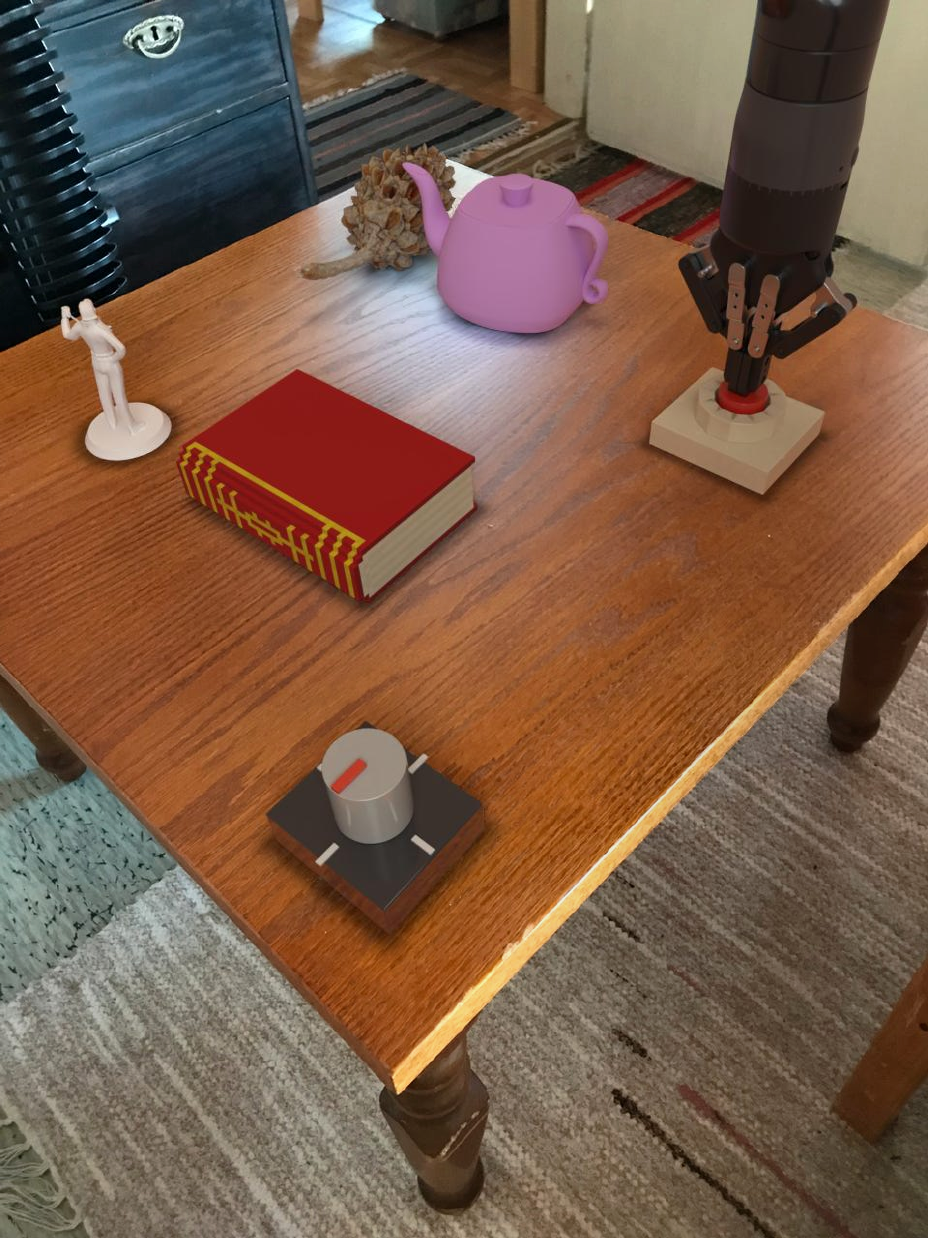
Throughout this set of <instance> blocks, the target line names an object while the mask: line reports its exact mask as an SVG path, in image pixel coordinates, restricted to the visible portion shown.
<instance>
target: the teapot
mask: <svg viewBox="0 0 928 1238" xmlns="http://www.w3.org/2000/svg"><path fill="white" fill-rule="evenodd" d="M402 165H403V168H404V169H405V170H406V171H407V172H408V173H409V175H410V176H411V177H412V178H413V180H414V181H415V183H416V185H417V187H418V189H419V192H420V195H421V201H422V210H423V223H424V231H425V235H426V239H427V241H428V244H429V246H430V248H429V249H430V250H431V251H432V253H433V254H434V256H435V257H436V258H437V259H438V260H437V261H438V263H437V271H436V286H437V290H438V294H439V296H440V297H441V299H442V301H443V302H444V303H445V304H446V306H447V307H448V308H449V309H450V310H451V311H452V312H453V313H454V314H455V315H457V316H459V317H460V318H462V319H464V320H466V321H468V322H470V323H472V324H475V325H476V326H477V325H478V326H480V327H483V328H487V329H490V330H495V331H500V332H506V333H517V334H518V333H520V334H536V333H538V334H539V333H545V332H549V331H552V330H554V329H556V328H558V327H560V326H561V325H562V324H564V323H565V322H566V321H567V320H568V319H570V317H571V316H572V315H573V314H574V313H575V312H576V311H577V309H578V308H579V307H580V306H581V305H582V303H583V302H585V303H587V304H589V305H596V304H597V305H598V304H600V303H603V302H604V301H605V300H606V299H607V298H608V295H609V292H610V291H609V290H610V287H609V284H608V283H607V281H606V280H605V279H604V278H602V277H597V275H598V273H599V271H600V270H601V267H602V265H603V263H604V260H605V258H606V255H607V253H608V250H609V249H608V248H609V234H608V231H607V229H606V227H605V226H604V224H602V222H600V220H599V219H597V218H596V217H594V216H593V215H590V214H587V213H584V211H583V209H582V207H581V205H580V203H579V201H578V199H577V197H576V196H575V194H574V192H572V191H571V190H570V189H569V188H567V187H565V186H563V185H560V184H557V183H555V182H551V181H548V180H545V179H540V178H535V177H532V176H529V175H528V174H523V173H511V174H507V175H500V176H499V175H497V176H493V177H487V178H485V179H484V180H482V181H480V182H479V183H477V184H476V185H474V187H473V188H472V189H470V190H469V191H468V192H467V193H466V194H465V195H464V196H463V197H462V199H461V200H460V201H459V203H458V205H457V207H456V209H455V211H454V213H453V215H452V217H451V216H450V215H449V214H448V212H446V210H445V208H444V205H443V202H442V199H441V196H440V193H439V190H438V187H437V185H436V183H435V181H434V179H433V178H432V176H431V175H430V174H429V173H428V172H427V171H426V170H425V169H423V168H421V167H420V166H417V165H415V164H412V163H403V164H402ZM594 287H595V288H596V289H597V290H595V289H594Z"/></svg>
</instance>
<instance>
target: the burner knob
mask: <svg viewBox="0 0 928 1238" xmlns="http://www.w3.org/2000/svg"><path fill="white" fill-rule="evenodd" d="M403 747H404V745H403V744H402V743H401V741H400V740H398V739H397V738H396V736H394V735H392V734H391V733H389V732H387V731H384V730H381V729H378V728H377V729H370V728H366V729H358V730H356V729H354V730H351V731H348V732H346V733H344V734H342V735H341V736H339V737H338V738H337V739H335V740H334V741H333V742H332V743H331V744H330V745H329V746H328V748H327V749H326V751H325V753H324V756H323V757H322V760H321V762H322V776H323V780H324V783H325V787H326V790H327V794H328V797H329V801H330V804H331V808H332V811H333V815H334V818H335V821H336V824H337V826H338V827H339V829H340V830H341V831H342V833H343V834H345V835H346V836H347V837H349V838H350V839H352V840H354V841H357V842H360V843H366V844H376V843H381V842H385V841H387V840H390V839H392V838H394V837H395V836H397V835H398V834H400V833H401V832H402V831H403V830H404V829H405V827H406V826H407V825H408V823H409V822H410V820H411V818H412V815H413V810H414V800H413V794H412V788H411V781H410V775H409V769H408V763H407V756H406V752H405V750H404V748H405V747H404V748H403Z"/></svg>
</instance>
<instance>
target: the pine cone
mask: <svg viewBox="0 0 928 1238" xmlns="http://www.w3.org/2000/svg"><path fill="white" fill-rule="evenodd" d="M439 151H440V148H436V146H434V145H431V146H430V147H429V148H428V147H427V144H426V142H425V141H424V142H423V143H422V146H419V147H417V149H415V150H413V152H412V151H411V147H410V145H409V143H408V144H406V147H405V150H403V151H402V149H401V147H398V148H397V149H396V150H394V151H393V150H392V149H390V148H386V149H383V151H382V154H381V155H382V157H381V158H379V157H377V156H374V155H372V156H371V158H370V160H369V162H368V163H362V164H361V180H359V181H357V182H355V183H354V190H355V192H356V195H350V200H351V203H352V204H351V205H348V206H345V207H343V215H342V217H341V219H340V222H341V224H342V225H343V227H345V228H346V230H347V232H348V233H349V236H347V237H346V241H347V242H348V244H350V245H352V246H354V249H353V251H356V252H354V253H352V254H350V255H348V256H346V257H342V258H340V259H337V260H333V261H328V262H324V263H323V262H311V263H310V264H308V263H304V262H303V263H301V264H300V265H298V266H297V267H296V268H295V269H293V272H295V271H299V270H300V271H299V273H298V275H297V277H298V278H301V279H305V280H309V281H318V280H326V279H328V278H334V277H337V276H339V275H342V274H343V273H344V274H345V273H347V272H350V271H353V270H354V269H357V268H359V267H361V266H364V265H365V264H367V263H371V265H372V266H373V268H375V270H377V269H379V270H381V271H383V272H384V271H385V270H387V267H388V266H391V267H393V268H395V269H396V270H398V271H401V272H402V271H403V270H404V268H409V267H411V266H412V264H413V258H412V256H420V255H426V254H427V253H428V250H429V249H431V248H430V246H429V244H428V241H427V239H426V235H425V231H424V223H423V210H422V201H421V195H420V192H419V189H418V187H417V185H416V183H415V181H414V180H413V178H412V177H411V176H410V175H409V173H408V172H407V171H406V170H405V169H404V168H403V165H402V164H403V163H412V164H415V165H417V166H420V167H421V168H423V169H425V170H426V171H427V172H428V173H429V174H430V175H431V176H432V178H433V179H434V181H435V183H436V185H437V187H438V190H439V193H440V196H441V199H442V202H443V205H444V208H445V210H446V212H447V213H449V212H450V210H451V209H453V205H454V203H455V201H456V199H457V197H455V196H453V194H452V192H451V189H453V188H455V186H456V183H457V180H456V179H455V178H454V175H456V169H455V167H454V166H453V165H448V166H447V161H446V160H447V157H446V155H445V154H441V155H440V153H439Z"/></svg>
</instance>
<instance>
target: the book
mask: <svg viewBox="0 0 928 1238" xmlns="http://www.w3.org/2000/svg"><path fill="white" fill-rule="evenodd" d="M181 447H182V451H180V452H179V453H178V456H179V459H177V460H176V461H175V464H176V466H177V470H178V473H179V476H180V479H181V481H182V484H183V487H184V490H185V493H186V495H187V496H189V497H190V498H193V499H194V500H195V501H197V502H199V503H200V504H202V505H203V506H205V507H207V508H209V510H212V511H213V512H215V513H216V514H218V515H220V516H222V517H223V518H224V519H226V520H227V521H229V522H231V523H233V524H234V525H235V526H237V527H239V528H240V529H242V530H243V531H245V532H246V533H248V534H250V535H252V536H253V537H255V538H256V539H258V540H260V541H261V542H263V543H265V544H266V545H268V546H270V547H271V548H273V549H275V550H276V551H278V552H279V553H281V554H282V555H284V556H286V557H287V558H289V559H291V560H292V561H294V562H295V563H297V564H298V565H301V566H302V567H304V568H305V569H306V570H308V571H310V572H311V573H314V574H315V575H316V576H317V577H320V578H321V579H323V580H324V581H326V582H327V583H330V584H331V585H332V586H334V587H335V588H337V589H339V590H340V591H342V592H344V593H346V594H347V595H348V596H350V597H351V598H354V599H355V600H356V601H358V602H361V601H363V602H364V603H365V602H369V603H371V602H372V601H373V600H375V599H376V598H377V597H378V596H379V595H381V594H382V593H383V592H384V591H385V590H386V589H387V588H389V587H390V586H391V585H392V584H393V583H395V581H397V580H398V579H399V578H400V577H401V576H402V575H404V573H406V572H407V571H409V569H411V567H413V566H414V565H415V564H416V563H417V562H418V561H420V560H421V559H422V558H423V557H424V556H425V555H426V554H427V553H429V552H430V551H432V549H434V548H435V547H436V546H437V545H438V544H439V543H440V542H442V540H443V539H445V538H446V537H447V536H448V535H450V534H451V533H452V532H453V531H454V530H455V529H456V528H457V527H459V526H460V525H461V524H462V523H463V522H464V521H465V520H466V519H467V518H469V517H470V516H471V515H472V514H473V513H475V512H476V511H477V510H478V503H476V502H474V491H473V467H472V465H474V464H475V463H476V456H475V455H472V454H470V453H469V452H466V451H464V450H462V449H460V448H458V447H456V446H455V445H452V444H450V443H449V442H446V441H444V440H443V439H440V438H438V437H436V436H435V435H432V434H430V433H429V432H426V431H424V430H422V429H420V428H419V427H416V426H414V425H412V424H410V423H408V422H406V421H404V420H402V419H399V418H398V417H397V416H394V415H392V414H390V413H388V412H385V411H383V410H382V409H380V408H378V407H376V406H373V405H372V404H370V403H367V402H366V401H363V400H362V399H360V398H357V397H355V396H353V395H351V394H349V393H347V392H345V391H343V390H341V389H339V388H337V387H335V386H333V385H331V384H329V383H328V382H325V381H323V380H321V379H319V378H317V377H315V376H313V375H311V374H309V373H307V372H305V371H303V370H301V369H299V368H296V369H295V370H293V371H291V372H290V373H288V374H287V375H286V376H284V377H283V378H280V379H279V380H278V381H276V382H275V383H274V384H272V385H270V386H269V387H267V388H266V389H264V390H263V391H261V392H260V393H259V394H257V395H255V396H253V397H252V398H251V399H249V400H248V401H246V402H245V403H243V404H242V405H240V406H239V407H238V408H236V409H234V410H233V411H231V412H230V413H228V414H227V415H226V416H224V417H222V418H220V420H218V421H217V422H215V423H214V424H212V425H210V426H209V427H207V428H206V429H205V430H202V431H201V432H200V433H199V434H197V435H195V436H194V437H193V438H191V439H190V440H188V441H186V442H185V443H183V444H182V445H181Z"/></svg>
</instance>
